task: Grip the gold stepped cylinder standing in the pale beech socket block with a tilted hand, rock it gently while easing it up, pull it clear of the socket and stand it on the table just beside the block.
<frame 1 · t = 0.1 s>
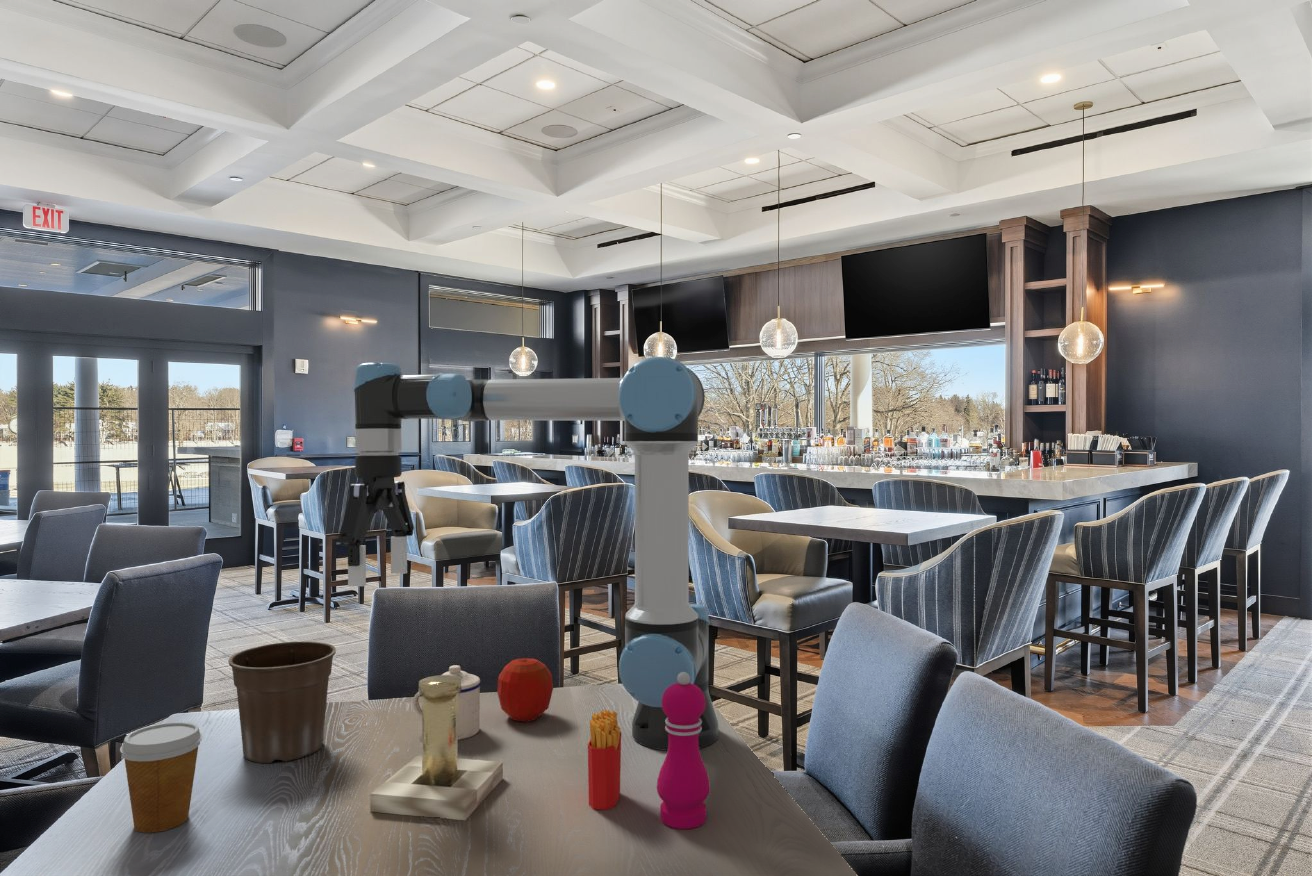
hand: (379, 579, 138), 28 cm above the table, tool pointing down, fingers open, 13 cm apart
socket block: (439, 794, 119), on the table
pepper mill: (683, 820, 111), on the table
gold stepped cylinder: (439, 737, 119), in the socket block
plant pot: (283, 751, 135), on the table
teacup with lid: (446, 733, 144), on the table
apple: (524, 718, 152), on the table
french fries: (604, 800, 117), on the table
disposable coffee cup: (161, 823, 110), on the table
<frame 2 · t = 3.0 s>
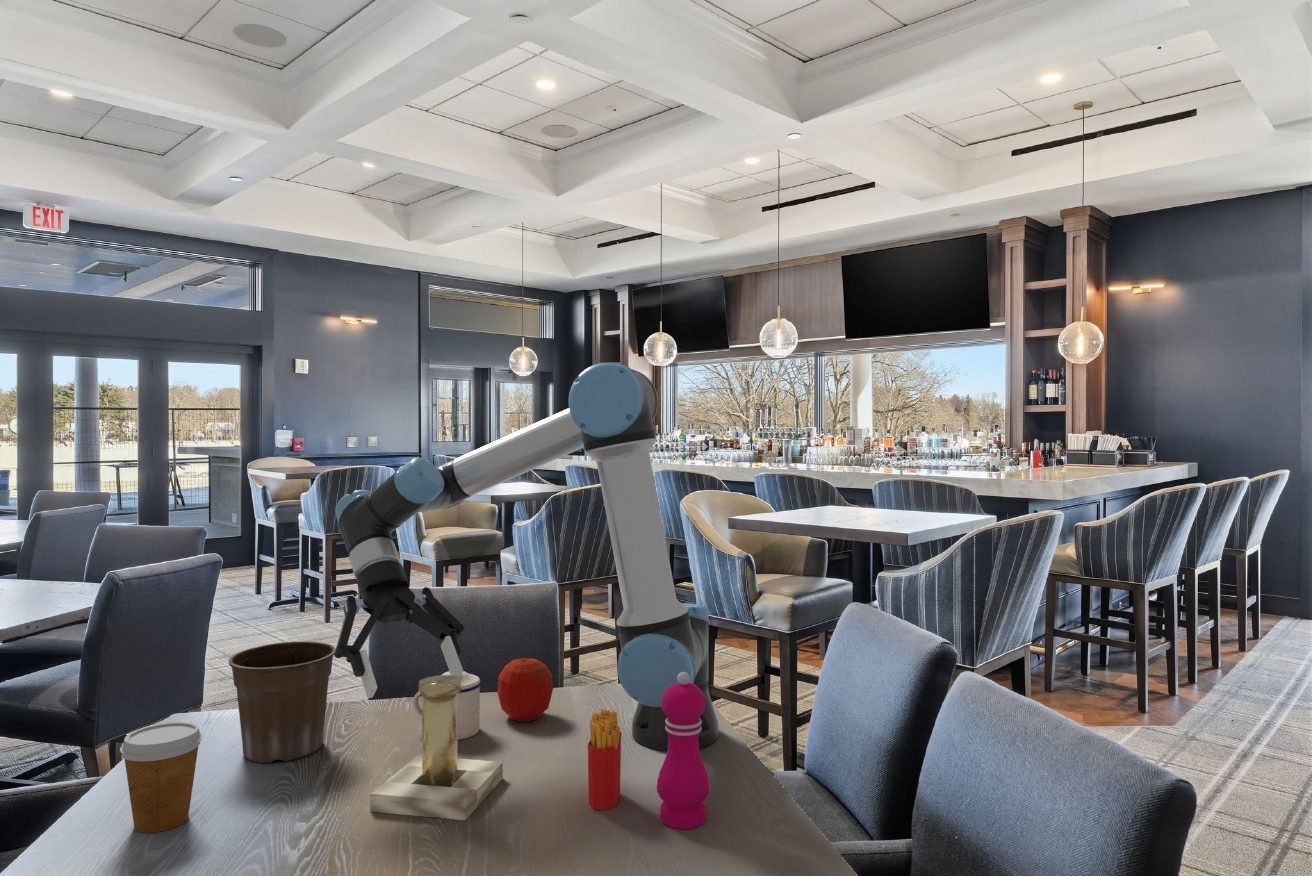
hand: (417, 684, 123), 15 cm above the table, tool tilted 45°, fingers open, 13 cm apart
nothing on the table moved.
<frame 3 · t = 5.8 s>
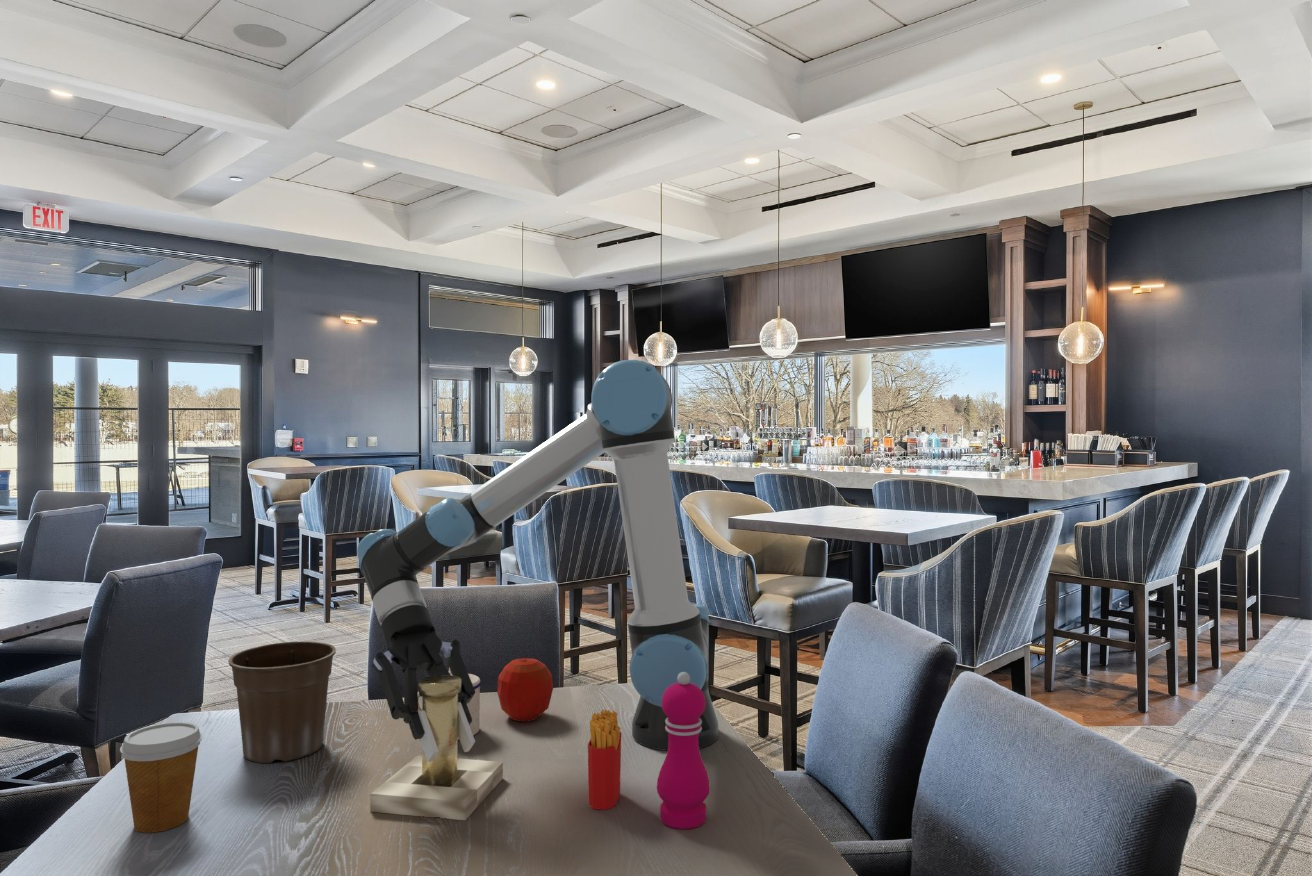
hand: (451, 751, 116), 7 cm above the table, tool tilted 45°, fingers closed on gold stepped cylinder, 5 cm apart
gold stepped cylinder: (439, 737, 119), in the socket block, touching gripper
everything else where it was.
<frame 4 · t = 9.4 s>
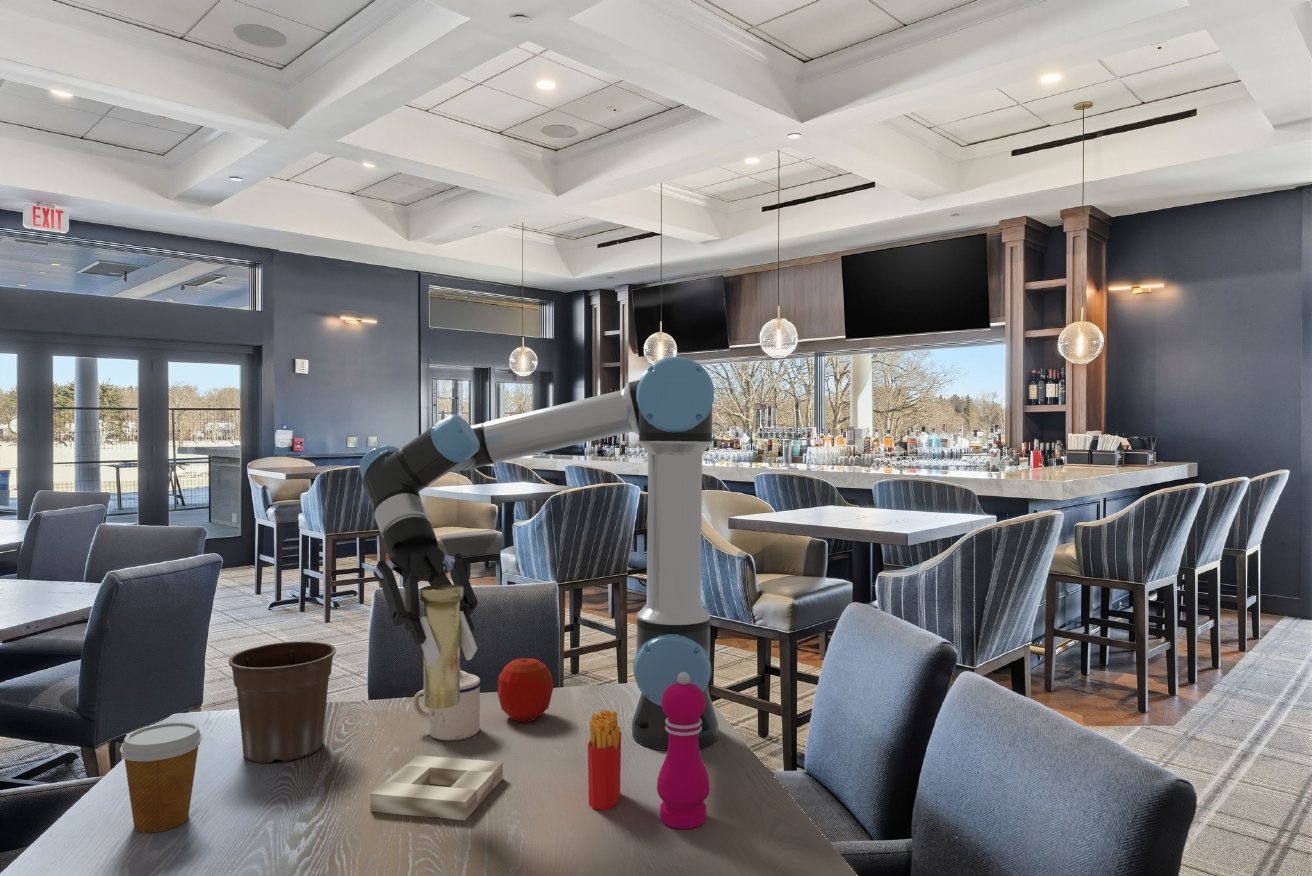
hand: (453, 657, 114), 21 cm above the table, tool tilted 45°, fingers closed on gold stepped cylinder, 5 cm apart
gold stepped cylinder: (441, 645, 117), point 22 cm above the table, touching gripper
everything else where it was.
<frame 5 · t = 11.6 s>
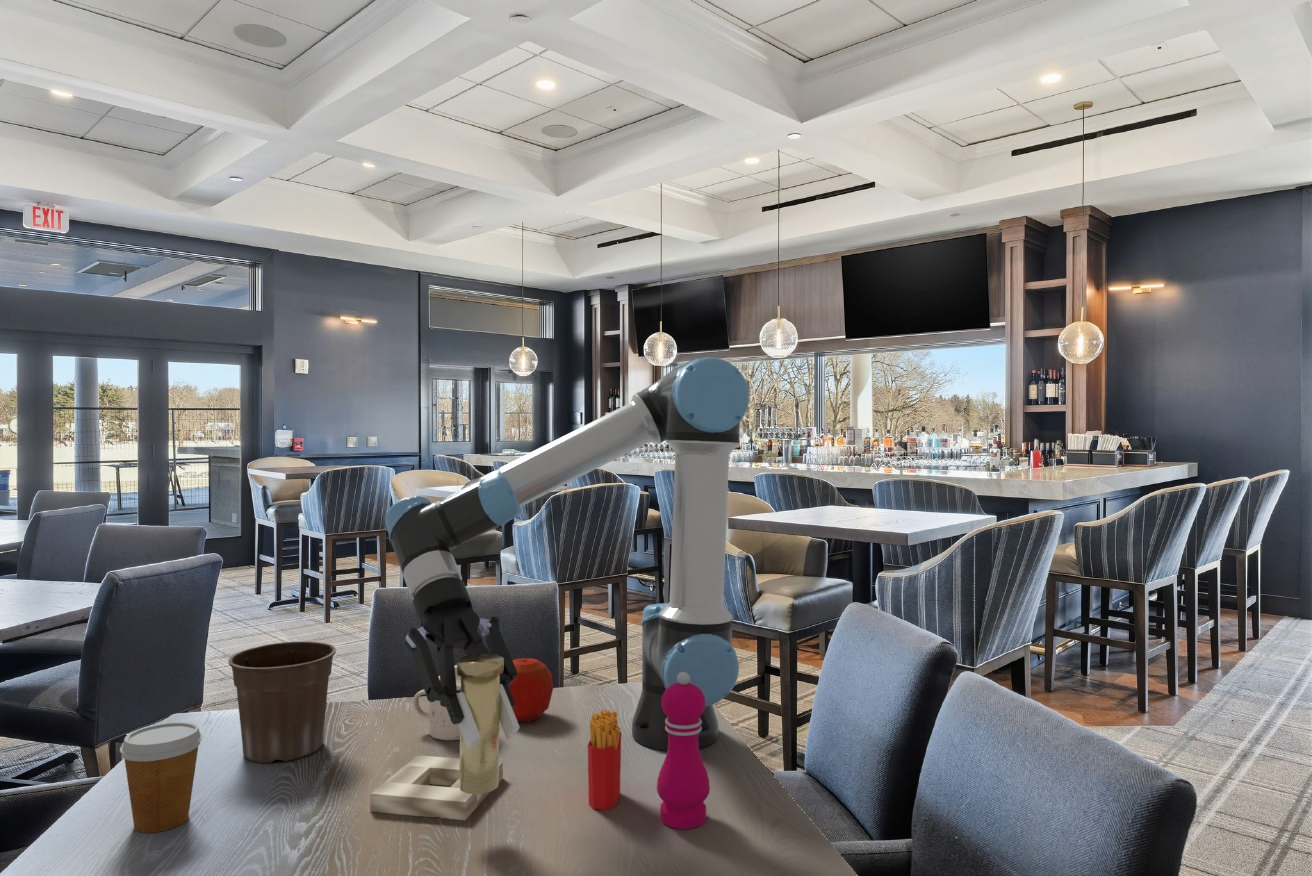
hand: (493, 738, 104), 14 cm above the table, tool tilted 45°, fingers closed on gold stepped cylinder, 5 cm apart
gold stepped cylinder: (479, 722, 107), point 14 cm above the table, touching gripper
everything else where it was.
when the fingers open (9 cm above the table, at t = 13.2 s): gold stepped cylinder drops 1 cm, on the table.
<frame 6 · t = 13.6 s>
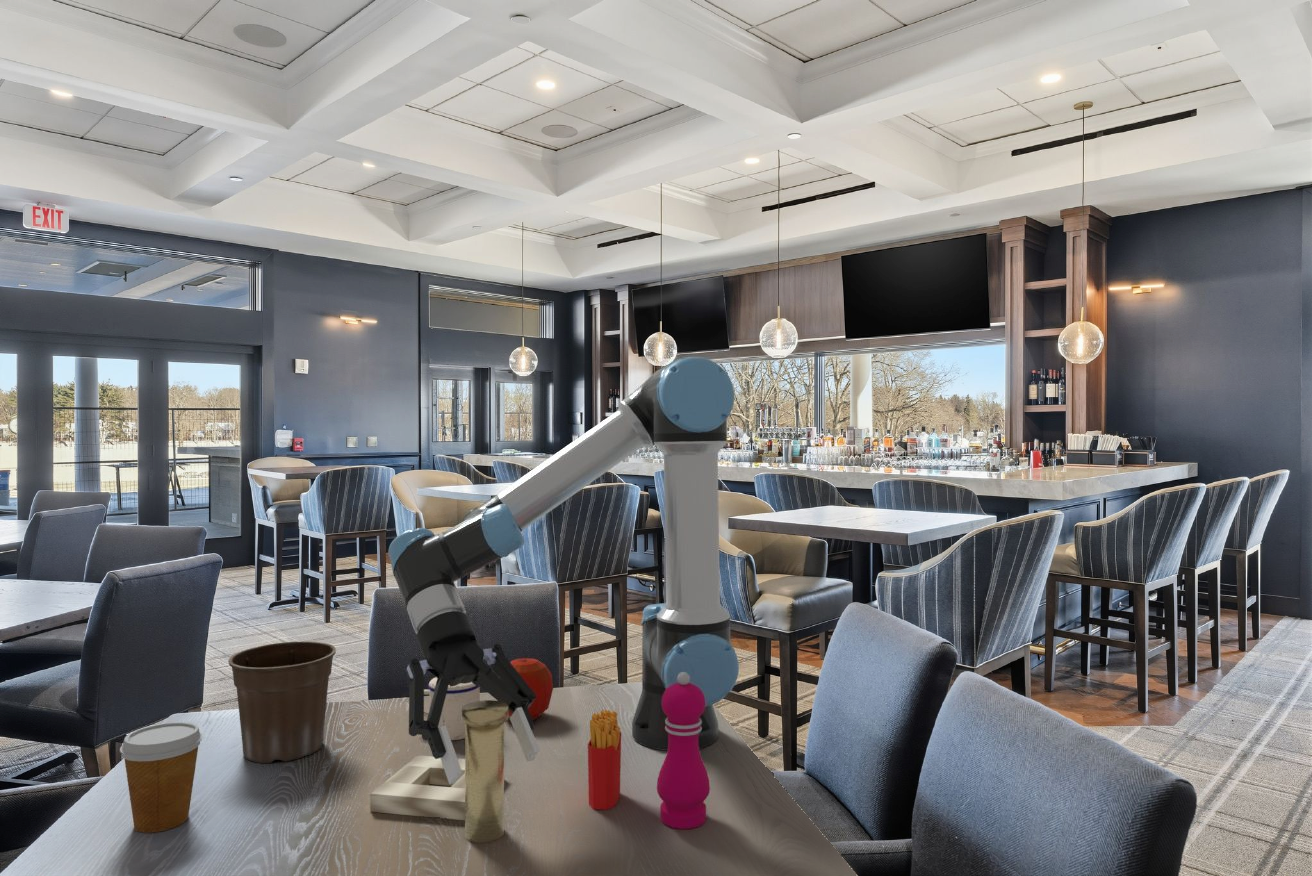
hand: (496, 767, 105), 10 cm above the table, tool tilted 45°, fingers open, 10 cm apart
gold stepped cylinder: (484, 770, 107), on the table
everything else where it was.
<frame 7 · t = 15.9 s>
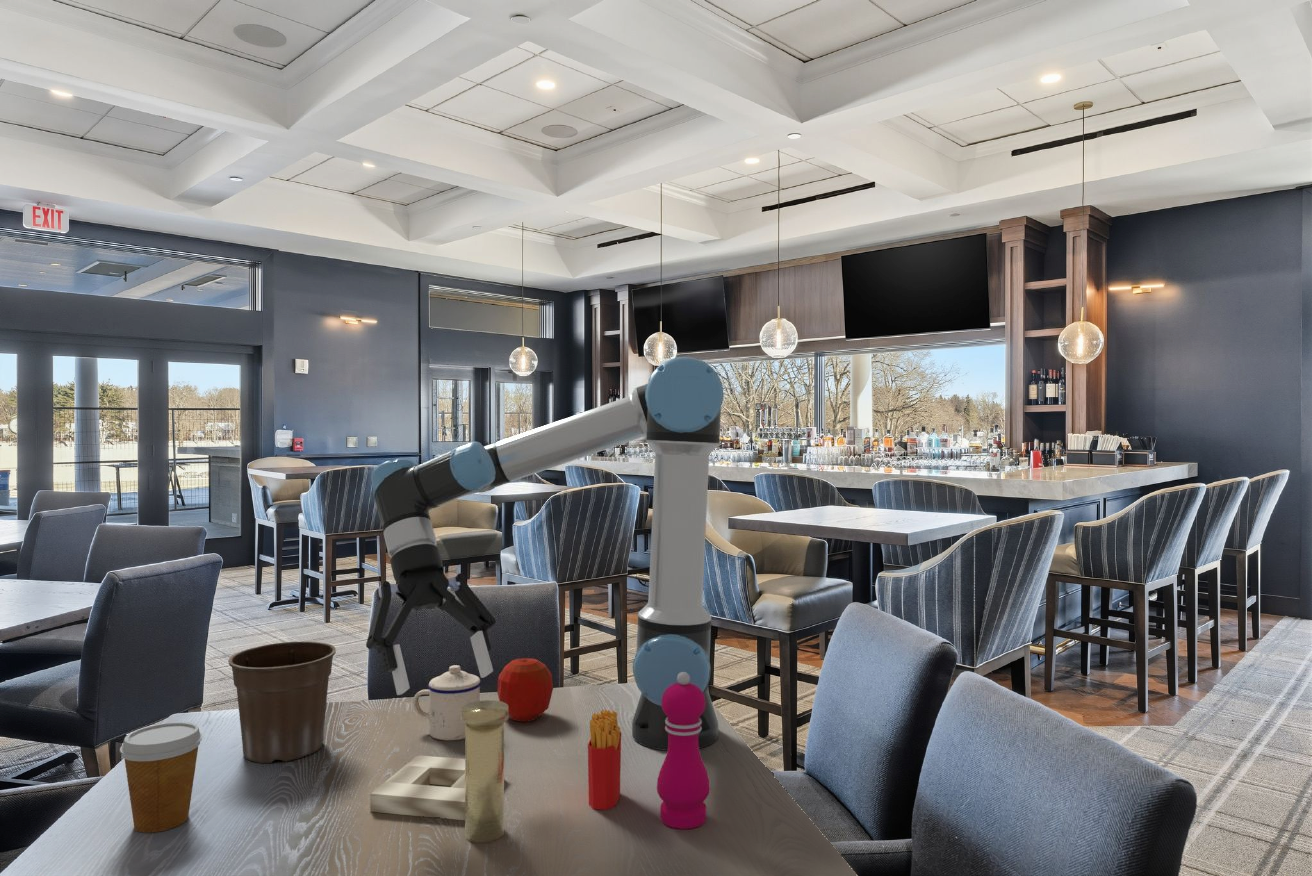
hand: (447, 683, 120), 16 cm above the table, tool tilted 30°, fingers open, 13 cm apart
nothing on the table moved.
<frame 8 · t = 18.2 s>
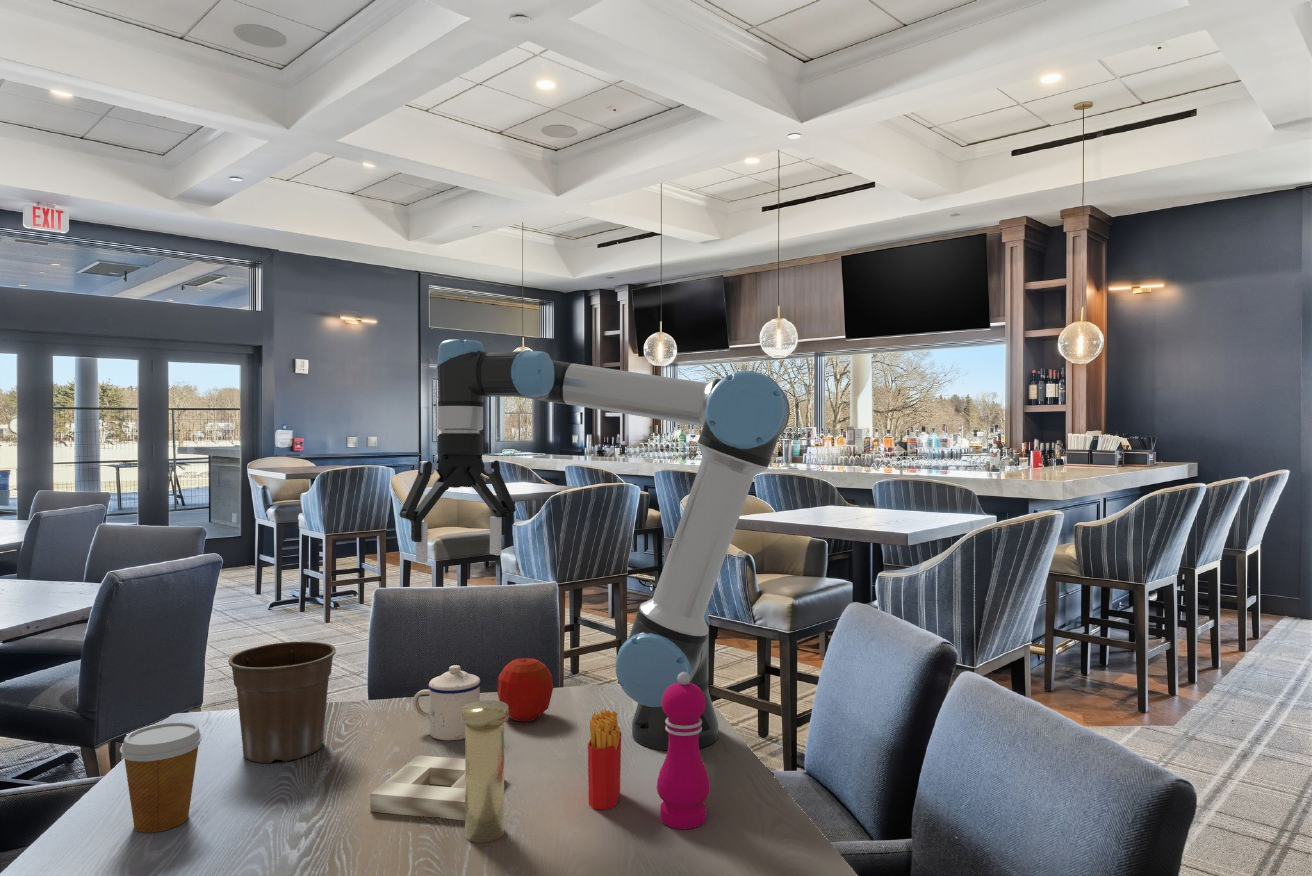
hand: (459, 558, 137), 32 cm above the table, tool pointing down, fingers open, 13 cm apart
nothing on the table moved.
at the end: gold stepped cylinder inside the target area (0.0 cm from its centre), on the table; gold stepped cylinder tilted 0°; the gripper is holding nothing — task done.
